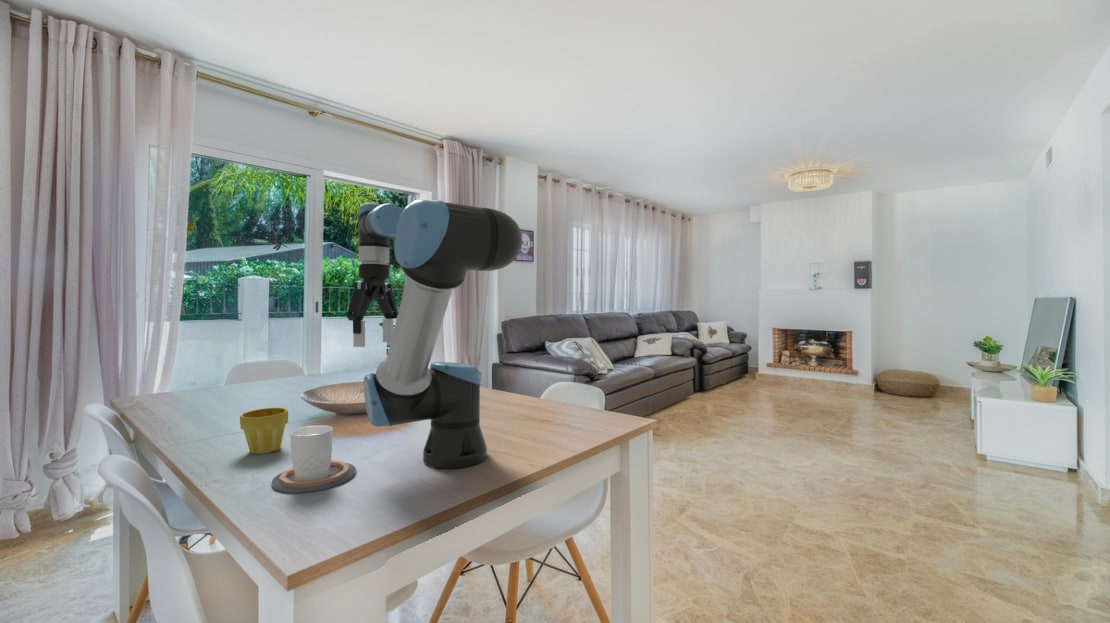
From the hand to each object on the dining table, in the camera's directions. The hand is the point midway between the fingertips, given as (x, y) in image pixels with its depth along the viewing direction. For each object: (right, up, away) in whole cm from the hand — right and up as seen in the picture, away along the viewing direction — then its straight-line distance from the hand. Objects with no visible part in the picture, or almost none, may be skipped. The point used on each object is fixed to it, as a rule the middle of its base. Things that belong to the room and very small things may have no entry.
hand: (374, 344), depth 120 cm
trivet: (-4, -27, -22) cm, 35 cm away
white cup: (-4, -27, -23) cm, 36 cm away
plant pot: (-26, -27, -4) cm, 38 cm away
